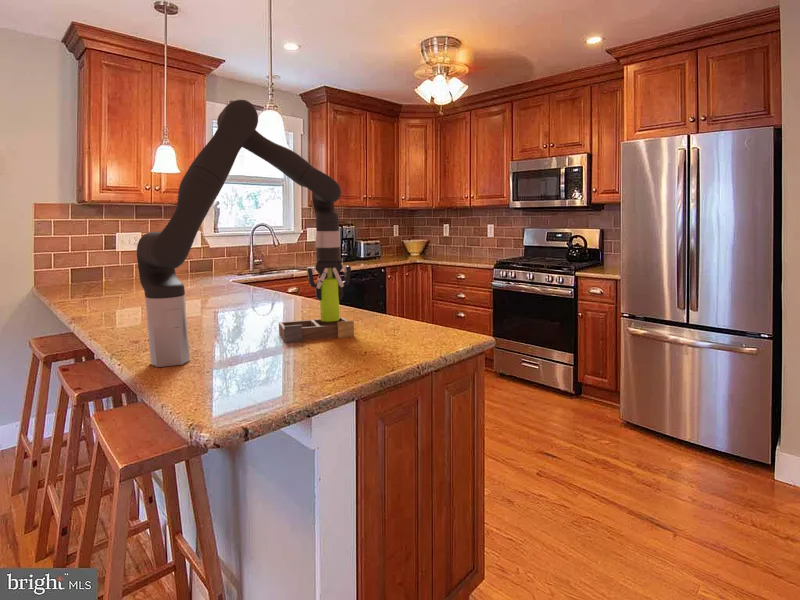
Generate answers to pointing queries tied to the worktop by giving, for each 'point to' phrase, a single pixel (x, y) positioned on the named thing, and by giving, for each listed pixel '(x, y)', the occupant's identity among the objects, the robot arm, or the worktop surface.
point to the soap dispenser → (329, 298)
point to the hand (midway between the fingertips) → (329, 299)
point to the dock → (315, 329)
